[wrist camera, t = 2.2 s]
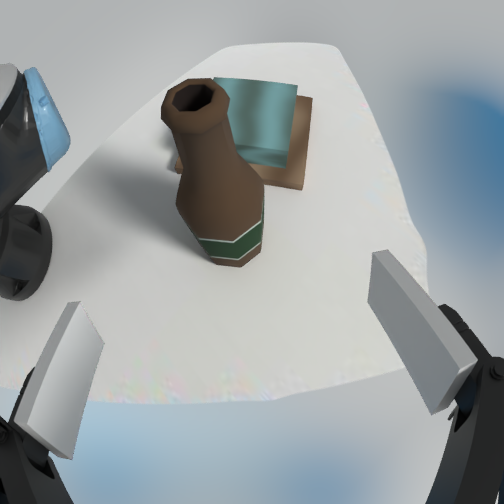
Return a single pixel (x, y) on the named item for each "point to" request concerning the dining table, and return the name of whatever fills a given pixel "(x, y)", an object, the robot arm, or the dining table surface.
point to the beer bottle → (214, 174)
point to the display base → (268, 129)
